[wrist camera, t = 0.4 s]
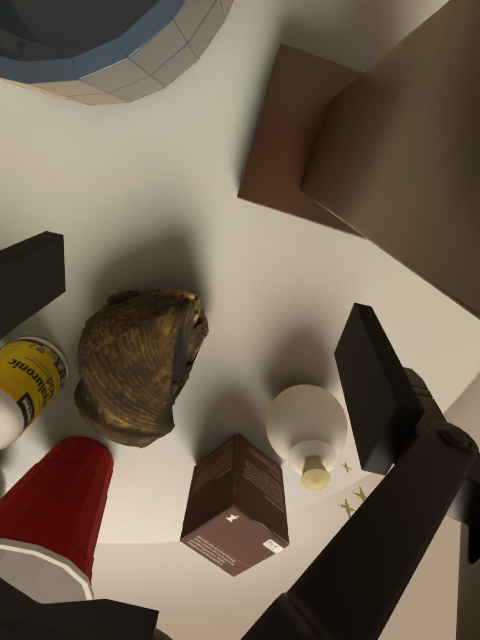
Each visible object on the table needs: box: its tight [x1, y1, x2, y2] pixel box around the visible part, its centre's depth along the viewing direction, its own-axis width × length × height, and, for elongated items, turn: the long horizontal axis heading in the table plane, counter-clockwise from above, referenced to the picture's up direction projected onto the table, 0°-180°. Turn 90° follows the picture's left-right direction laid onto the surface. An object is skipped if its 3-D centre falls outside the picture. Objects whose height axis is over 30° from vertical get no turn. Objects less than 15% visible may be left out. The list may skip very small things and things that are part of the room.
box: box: [180, 434, 289, 577], centre depth 30 cm, size 6×6×7 cm
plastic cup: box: [0, 437, 114, 604], centre depth 28 cm, size 11×11×12 cm
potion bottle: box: [266, 384, 367, 517], centre depth 25 cm, size 6×7×10 cm
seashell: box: [74, 288, 209, 448], centre depth 26 cm, size 16×9×7 cm, turn 158°
